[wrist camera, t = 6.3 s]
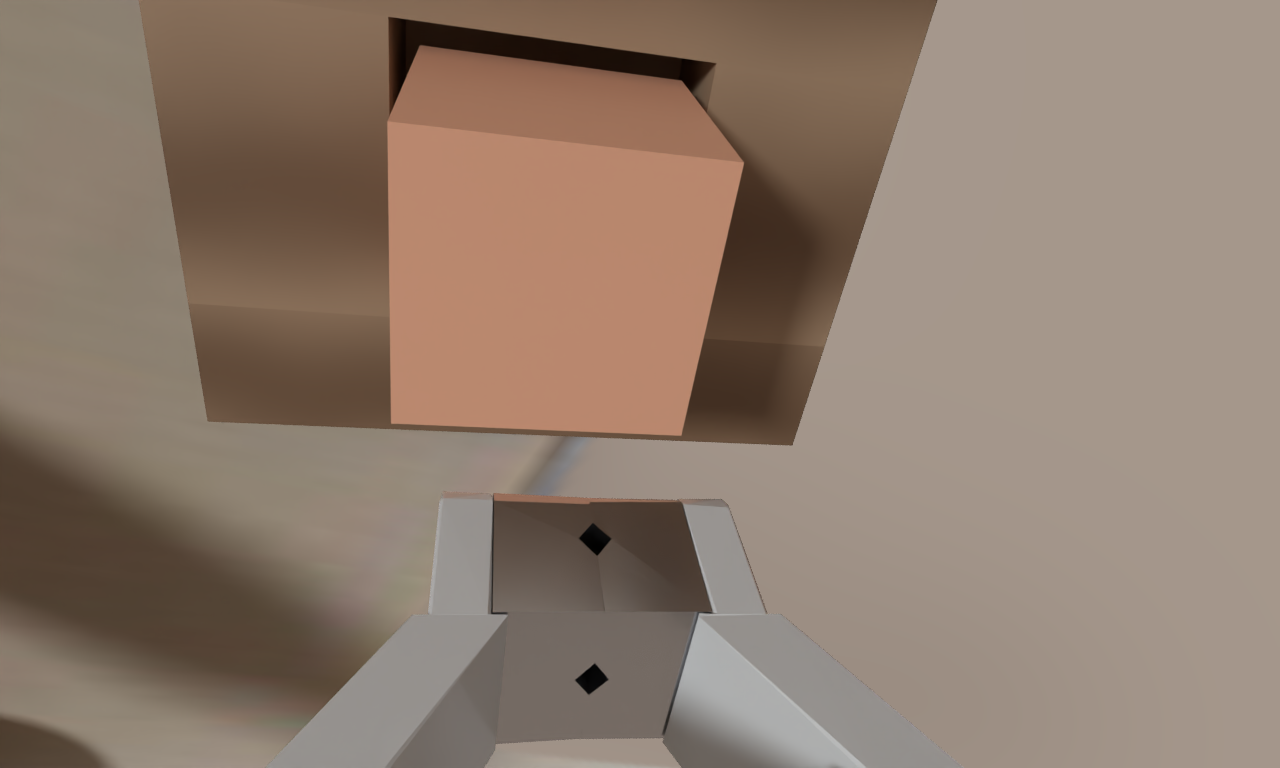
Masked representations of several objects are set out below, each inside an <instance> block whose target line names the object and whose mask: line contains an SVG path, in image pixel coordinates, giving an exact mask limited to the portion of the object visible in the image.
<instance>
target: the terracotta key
mask: <svg viewBox="0 0 1280 768" xmlns="http://www.w3.org/2000/svg"><path fill="white" fill-rule="evenodd" d="M387 134H388V216H389V298H390V380H391V424H415V425H438V426H462V427H486V428H509V429H533V430H556V431H580V432H604V433H627V434H651V435H674V436H681V435H682V430H683V426H684V422H685V417H686V413H687V409H688V404H689V400H690V396H691V391H692V387H693V383H694V378H695V374H696V370H697V365H698V361H699V357H700V352H701V348H702V344H703V339H704V335H705V331H706V326H707V322H708V318H709V313H710V309H711V304H712V300H713V296H714V291H715V287H716V283H717V278H718V274H719V270H720V265H721V261H722V257H723V252H724V248H725V244H726V239H727V235H728V231H729V226H730V222H731V218H732V213H733V209H734V205H735V200H736V196H737V192H738V187H739V183H740V179H741V174H742V170H743V166H744V162H743V160H742V159H741V158H740V157H739V155H738V154H737V153H736V151H735V150H734V149H733V147H732V146H731V145H730V143H729V142H728V141H727V139H726V138H725V137H724V136H723V134H722V133H721V132H720V130H719V129H718V128H717V126H716V125H715V124H714V122H713V121H712V120H711V118H710V117H709V116H708V115H707V113H706V112H705V111H704V109H703V108H702V107H701V105H700V104H699V103H698V101H697V100H696V99H695V97H694V96H693V95H692V94H691V92H690V91H689V90H688V88H687V87H686V86H685V84H684V83H683V82H682V81H681V80H673V79H666V78H659V77H651V76H644V75H637V74H629V73H622V72H614V71H607V70H600V69H592V68H585V67H578V66H570V65H563V64H555V63H548V62H541V61H533V60H526V59H518V58H511V57H504V56H496V55H489V54H482V53H474V52H467V51H459V50H452V49H445V48H437V47H430V46H423V45H420V46H419V49H418V51H417V53H416V56H415V58H414V60H413V63H412V65H411V67H410V70H409V72H408V74H407V77H406V79H405V81H404V84H403V86H402V88H401V91H400V93H399V95H398V98H397V100H396V102H395V105H394V107H393V109H392V112H391V114H390V116H389V119H388V121H387Z"/></svg>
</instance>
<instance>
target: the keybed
mask: <svg viewBox="0 0 1280 768" xmlns="http://www.w3.org/2000/svg"><path fill="white" fill-rule="evenodd" d="M936 3H937V0H139V5H140V11H141V17H142V23H143V29H144V35H145V41H146V47H147V54H148V60H149V66H150V72H151V78H152V84H153V90H154V96H155V102H156V109H157V115H158V121H159V127H160V133H161V139H162V145H163V151H164V157H165V163H166V170H167V176H168V182H169V188H170V194H171V200H172V206H173V212H174V218H175V225H176V231H177V237H178V243H179V249H180V255H181V261H182V267H183V273H184V280H185V286H186V292H187V298H188V304H189V310H190V316H191V322H192V328H193V335H194V341H195V347H196V353H197V359H198V365H199V371H200V377H201V383H202V389H203V396H204V402H205V408H206V414H207V420H208V421H209V422H234V423H258V424H282V425H307V426H331V427H355V428H380V429H404V430H428V431H453V432H477V433H501V434H526V435H550V436H575V437H599V438H623V439H648V440H672V441H674V440H675V441H696V442H697V441H698V442H723V443H745V444H747V443H748V444H769V445H793V441H794V439H795V435H796V432H797V429H798V426H799V423H800V420H801V417H802V414H803V411H804V407H805V404H806V402H807V398H808V396H809V392H810V389H811V386H812V383H813V380H814V377H815V374H816V371H817V368H818V365H819V362H820V359H821V356H822V352H823V350H824V346H825V343H826V340H827V337H828V334H829V331H830V328H831V325H832V322H833V319H834V316H835V313H836V309H837V306H838V303H839V300H840V297H841V294H842V291H843V288H844V285H845V282H846V279H847V276H848V273H849V270H850V267H851V263H852V260H853V257H854V254H855V251H856V248H857V245H858V242H859V239H860V236H861V233H862V230H863V227H864V224H865V220H866V218H867V214H868V211H869V208H870V205H871V202H872V199H873V196H874V193H875V190H876V187H877V184H878V181H879V178H880V174H881V172H882V168H883V165H884V162H885V159H886V156H887V153H888V150H889V147H890V144H891V141H892V138H893V134H894V132H895V128H896V126H897V122H898V119H899V116H900V113H901V110H902V107H903V104H904V101H905V98H906V95H907V92H908V88H909V86H910V83H911V79H912V76H913V73H914V70H915V67H916V64H917V61H918V58H919V54H920V52H921V49H922V46H923V43H924V40H925V37H926V33H927V30H928V27H929V24H930V21H931V18H932V15H933V12H934V9H935V6H936ZM420 45H423V46H430V47H437V48H445V49H452V50H459V51H467V52H474V53H482V54H489V55H496V56H504V57H511V58H518V59H526V60H533V61H541V62H548V63H555V64H563V65H570V66H578V67H585V68H592V69H600V70H607V71H614V72H622V73H629V74H637V75H644V76H651V77H659V78H666V79H673V80H681V81H682V82H683V83H684V84H685V86H686V87H687V88H688V90H689V91H690V92H691V94H692V95H693V96H694V97H695V99H696V100H697V101H698V103H699V104H700V105H701V107H702V108H703V109H704V111H705V112H706V113H707V115H708V116H709V117H710V118H711V120H712V121H713V122H714V124H715V125H716V126H717V128H718V129H719V130H720V132H721V133H722V134H723V136H724V137H725V138H726V139H727V141H728V142H729V143H730V145H731V146H732V147H733V149H734V150H735V151H736V153H737V154H738V155H739V157H740V158H741V159H742V160H743V162H744V166H743V170H742V174H741V179H740V183H739V187H738V192H737V196H736V200H735V205H734V209H733V213H732V218H731V222H730V226H729V231H728V235H727V239H726V244H725V248H724V252H723V257H722V261H721V265H720V270H719V274H718V278H717V283H716V287H715V291H714V296H713V300H712V304H711V309H710V313H709V318H708V322H707V326H706V331H705V335H704V339H703V344H702V348H701V352H700V357H699V361H698V365H697V370H696V374H695V378H694V383H693V387H692V391H691V396H690V400H689V404H688V409H687V413H686V417H685V422H684V426H683V430H682V435H681V436H674V435H651V434H627V433H604V432H580V431H556V430H533V429H509V428H486V427H462V426H438V425H415V424H391V380H390V298H389V216H388V134H387V121H388V119H389V116H390V114H391V112H392V109H393V107H394V105H395V102H396V100H397V98H398V95H399V93H400V91H401V88H402V86H403V84H404V81H405V79H406V77H407V74H408V72H409V70H410V67H411V65H412V63H413V60H414V58H415V56H416V53H417V51H418V49H419V46H420Z"/></svg>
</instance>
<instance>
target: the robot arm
mask: <svg viewBox="0 0 1280 768" xmlns="http://www.w3.org/2000/svg"><path fill="white" fill-rule="evenodd" d="M580 738H581V739H597V738H598V739H601V738H602V739H603V738H664V740H663V743H664V745H665V746H666V747H667V749H668V750H669V751H670V753H671V754H672V755H673V757H674V758H675V759H676V761H677V762H678V763H679V765H680V766H681V767H682V768H964V767H962V766H961V765H960V764H959V763H958V762H957V761H955V760H954V759H953V758H952V757H950V756H949V755H948V754H947V753H946V752H945V751H943V750H942V749H941V748H940V747H939V746H937V745H936V744H935V743H934V742H933V741H932V740H930V739H929V738H928V737H927V736H925V735H924V734H923V733H922V732H921V731H920V730H918V729H917V728H916V727H915V726H914V725H913V724H911V723H910V722H909V721H908V720H907V719H905V718H904V717H903V716H901V714H899V713H898V712H897V711H896V710H894V708H892V707H891V706H890V705H889V704H888V703H886V702H885V701H884V700H883V699H882V698H880V697H879V696H878V695H877V694H876V693H875V692H873V691H872V690H871V689H870V688H868V687H867V686H866V685H865V684H864V683H863V682H861V681H860V680H859V679H857V677H855V676H854V675H853V674H852V673H851V672H850V671H848V670H847V669H846V668H845V667H843V666H842V665H841V664H840V663H839V662H838V661H836V660H835V659H834V658H833V657H832V656H830V655H829V654H828V653H827V652H826V651H824V650H823V649H822V648H821V647H820V646H819V645H817V644H816V643H815V642H814V641H813V640H811V639H810V638H809V637H808V636H807V635H806V634H804V633H803V632H802V631H801V630H799V629H798V628H797V627H796V626H795V625H794V624H792V623H791V622H790V621H789V620H788V619H787V618H785V617H784V616H783V615H782V614H767V611H766V609H765V606H764V603H763V600H762V597H761V595H760V592H759V589H758V586H757V583H756V581H755V578H754V575H753V572H752V570H751V567H750V564H749V561H748V558H747V556H746V553H745V550H744V547H743V545H742V542H741V539H740V536H739V534H738V531H737V528H736V525H735V522H734V520H733V517H732V514H731V511H730V509H729V506H728V505H727V504H726V503H725V502H724V501H723V500H722V499H678V500H677V501H676V500H653V499H651V500H650V499H649V500H648V499H606V498H577V497H558V496H538V495H519V494H499V493H494V494H493V499H492V495H491V494H484V493H462V492H443V493H442V496H441V499H440V502H439V512H438V522H437V532H436V542H435V551H434V561H433V571H432V581H431V590H430V600H429V610H428V615H411V616H410V617H409V618H408V620H407V621H406V622H405V623H404V624H403V625H402V626H401V627H400V628H399V629H398V630H397V631H396V632H395V633H394V634H393V635H392V636H391V637H390V638H389V639H388V640H387V641H386V642H385V643H384V644H383V646H382V647H381V648H380V649H379V650H378V651H377V652H376V653H375V654H374V655H373V656H372V657H371V658H370V659H369V660H368V661H367V662H366V663H365V664H364V665H363V666H362V667H361V668H360V669H359V670H358V672H357V673H356V674H355V675H354V676H353V677H352V678H351V679H350V680H349V681H348V682H347V683H346V684H345V685H344V686H343V687H342V688H341V689H340V690H339V691H338V692H337V693H336V694H335V695H334V696H333V698H332V699H331V700H330V701H329V702H328V703H327V704H326V705H325V706H324V707H323V708H322V709H321V710H320V711H319V712H318V713H317V714H316V715H315V716H314V717H313V718H312V719H311V720H310V721H309V723H308V724H307V725H306V726H305V727H304V728H303V729H302V730H301V731H300V732H299V733H298V734H297V735H296V736H295V737H294V738H293V739H292V740H291V741H290V742H289V743H288V744H287V745H286V746H285V747H284V749H283V750H282V751H281V752H280V753H279V754H278V755H277V756H276V757H275V758H274V759H273V760H272V761H271V762H270V763H269V764H268V765H267V766H266V767H265V768H484V767H485V765H486V764H487V762H488V760H489V759H490V757H491V755H492V754H493V752H494V751H495V745H496V744H502V743H518V742H533V741H549V740H565V739H580Z"/></svg>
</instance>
